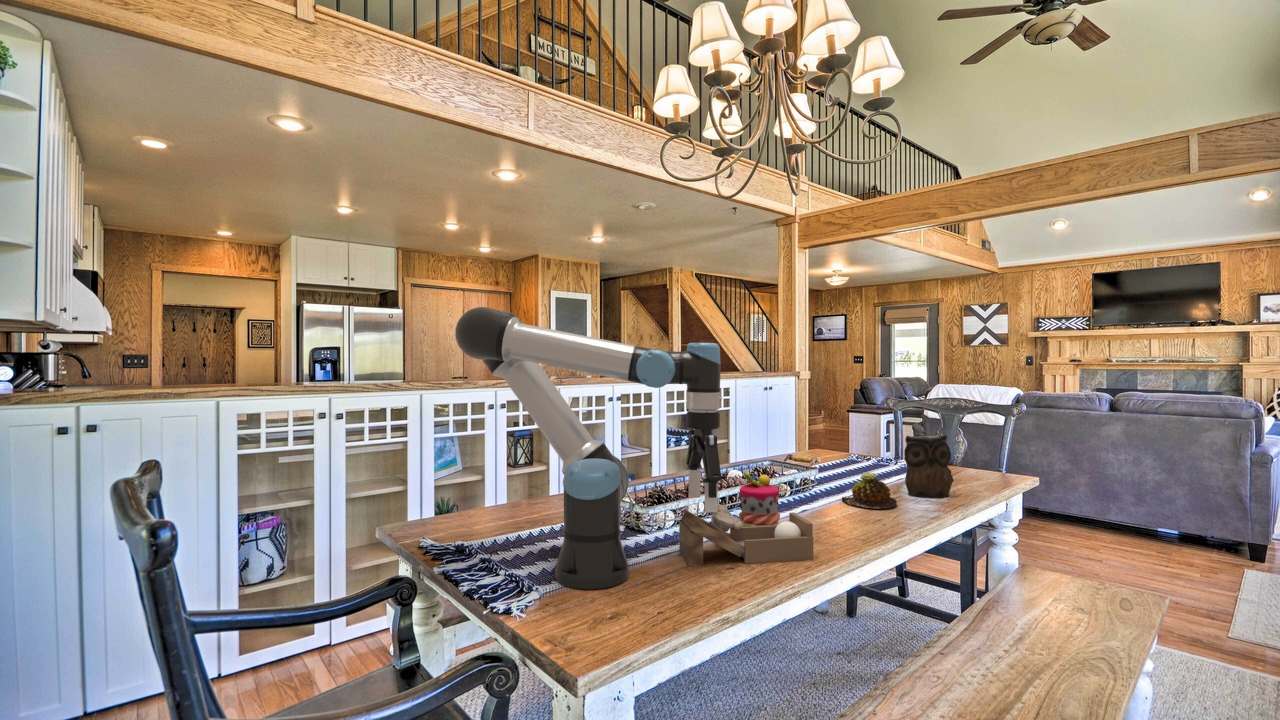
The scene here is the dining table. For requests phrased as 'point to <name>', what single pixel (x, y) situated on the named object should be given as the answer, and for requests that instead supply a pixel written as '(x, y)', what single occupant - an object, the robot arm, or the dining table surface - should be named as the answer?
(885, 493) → the cactus
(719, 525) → the rock
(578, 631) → the dining table surface
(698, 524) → the ramp
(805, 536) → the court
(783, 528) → the ball
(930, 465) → the dark brown owl statuette
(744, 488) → the cake
